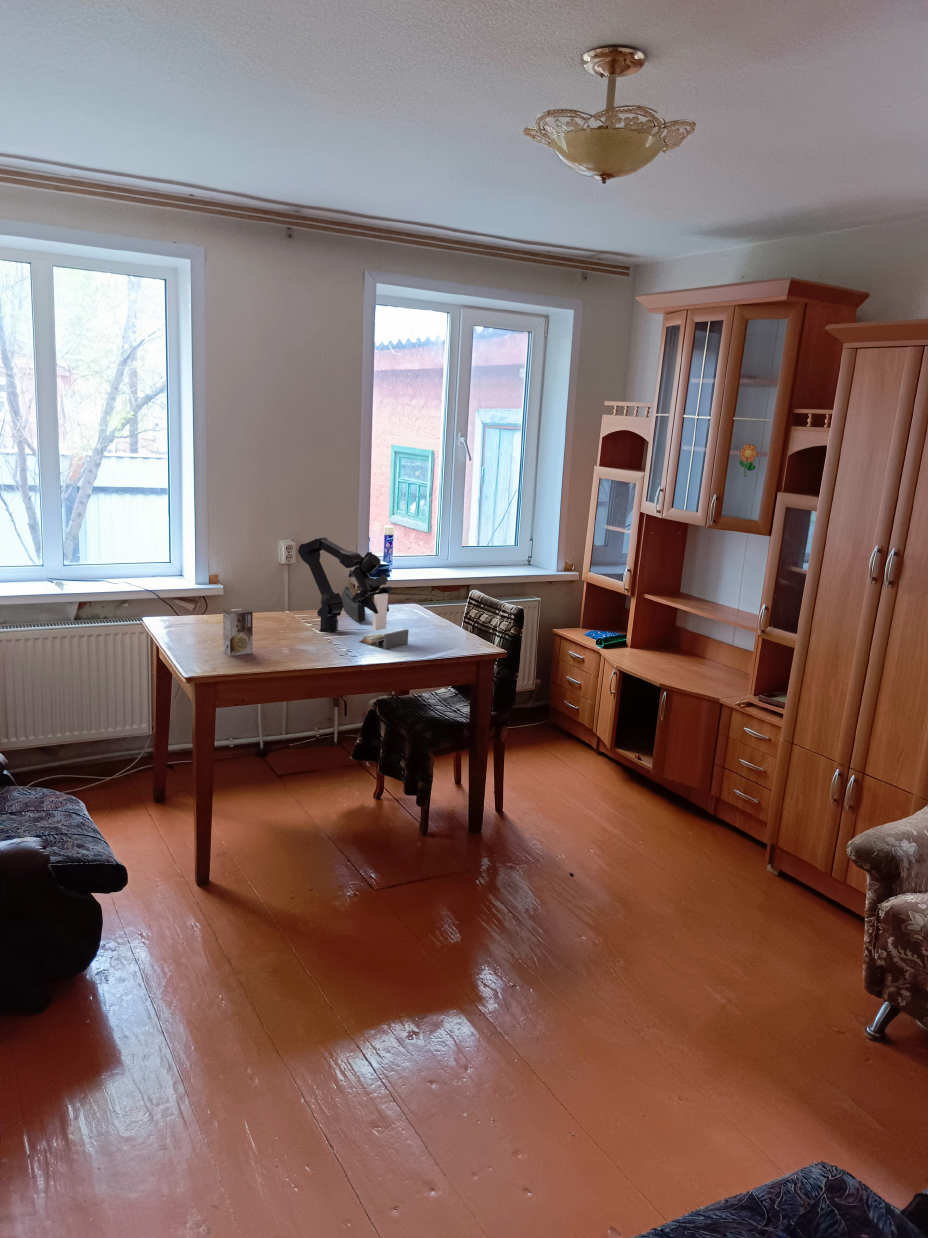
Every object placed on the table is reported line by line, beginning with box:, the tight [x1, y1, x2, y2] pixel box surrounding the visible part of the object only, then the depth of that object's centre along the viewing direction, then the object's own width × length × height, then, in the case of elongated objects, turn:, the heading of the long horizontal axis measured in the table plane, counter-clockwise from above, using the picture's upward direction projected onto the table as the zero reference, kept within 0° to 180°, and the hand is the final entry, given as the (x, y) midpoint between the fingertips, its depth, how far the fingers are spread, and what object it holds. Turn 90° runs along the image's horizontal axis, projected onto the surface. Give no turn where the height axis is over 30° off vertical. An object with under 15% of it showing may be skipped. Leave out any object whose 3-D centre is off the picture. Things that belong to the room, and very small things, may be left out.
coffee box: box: [222, 607, 254, 657], centre depth 321 cm, size 9×6×16 cm
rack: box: [358, 628, 410, 651], centre depth 347 cm, size 15×13×7 cm
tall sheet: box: [372, 593, 389, 631], centre depth 346 cm, size 2×6×14 cm, turn 143°
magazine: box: [340, 586, 366, 623], centre depth 391 cm, size 17×3×30 cm
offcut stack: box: [359, 633, 384, 646], centre depth 350 cm, size 6×11×2 cm, turn 143°
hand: (382, 612), depth 345 cm, fingers closed on tall sheet, 6 cm apart
